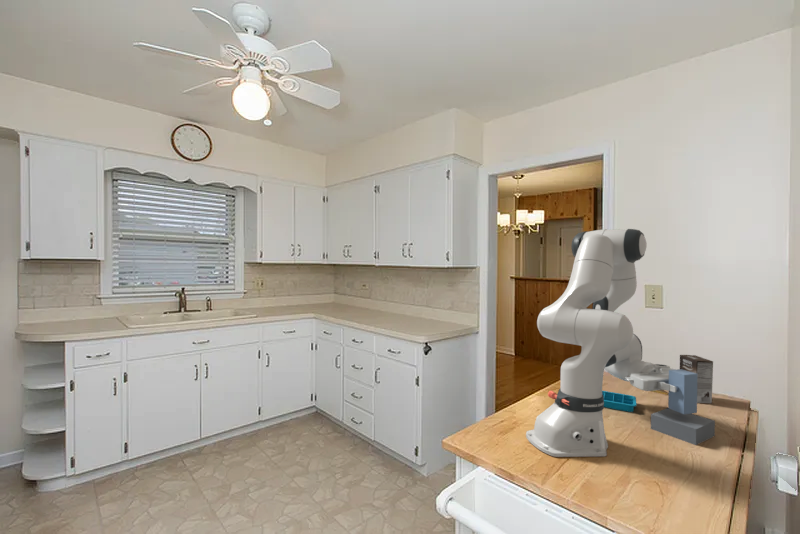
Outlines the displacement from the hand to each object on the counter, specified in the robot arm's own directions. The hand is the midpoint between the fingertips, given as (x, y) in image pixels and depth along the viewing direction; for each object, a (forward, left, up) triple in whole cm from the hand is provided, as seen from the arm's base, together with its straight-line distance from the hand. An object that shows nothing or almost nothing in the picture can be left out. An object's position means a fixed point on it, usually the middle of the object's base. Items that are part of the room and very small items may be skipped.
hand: (685, 388), depth 113 cm
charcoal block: (0, +1, -14) cm, 14 cm away
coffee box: (+33, +23, -14) cm, 42 cm away
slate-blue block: (0, +1, -7) cm, 7 cm away
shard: (+27, +35, -14) cm, 46 cm away
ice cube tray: (-5, +27, -14) cm, 31 cm away
